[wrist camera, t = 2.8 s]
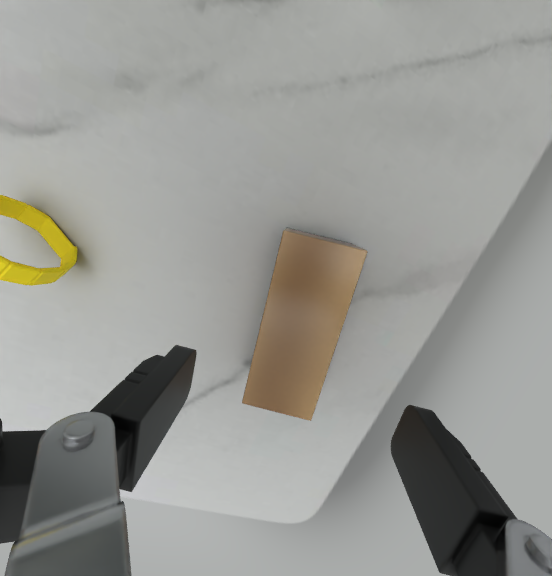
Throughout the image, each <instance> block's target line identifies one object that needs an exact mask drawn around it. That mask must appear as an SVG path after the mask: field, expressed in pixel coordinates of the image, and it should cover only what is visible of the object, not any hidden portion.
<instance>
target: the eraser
mask: <svg viewBox="0 0 552 576" xmlns="http://www.w3.org/2000/svg"><path fill="white" fill-rule="evenodd" d="M366 255H367V251H366V250H364V249H362V248H360V247H358V246H356V245H354V244H352V243H348V242H344V241H340V240H336V239H331V238H327V237H323V236H319V235H315V234H311V233H307V232H303V231H299V230H295V229H291V228H286V229H285V230H284V231H283V234H282V238H281V243H280V247H279V251H278V255H277V259H276V263H275V267H274V272H273V276H272V280H271V284H270V288H269V292H268V297H267V301H266V305H265V309H264V313H263V317H262V321H261V326H260V330H259V334H258V338H257V342H256V346H255V351H254V355H253V359H252V363H251V367H250V371H249V375H248V380H247V384H246V388H245V392H244V396H243V400H242V403H243V404H247V405H251V406H255V407H259V408H263V409H267V410H271V411H275V412H278V413H282V414H286V415H290V416H294V417H298V418H302V419H306V420H310V421H311V419H312V416H313V413H314V410H315V407H316V404H317V401H318V398H319V395H320V392H321V389H322V386H323V383H324V380H325V377H326V374H327V371H328V368H329V365H330V362H331V359H332V356H333V353H334V350H335V347H336V344H337V341H338V338H339V335H340V332H341V330H342V327H343V324H344V321H345V318H346V315H347V312H348V309H349V306H350V303H351V300H352V297H353V294H354V291H355V288H356V285H357V282H358V279H359V276H360V273H361V270H362V267H363V264H364V261H365V258H366Z"/></svg>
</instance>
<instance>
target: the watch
mask: <svg viewBox="0 0 552 576" xmlns="http://www.w3.org/2000/svg"><path fill="white" fill-rule="evenodd" d="M0 215H3V216H7V217H10V218H14V219H17V220H18V221H20V222H22V223H24V224H26V225H28V226H30V227H32V228H34V229H35V230H37V231H38V232H39V233H40V234H41V235H42V237H43V238H44V239H45V240H46V241H47V243H48V244H49V245H50V246H51V247H52V249H53V250H54V251H55V252H56V253H57V254H58V256H59V257H60V258H61V265H60V267H55V268H35V267H31V266H27V265H23V264H19V263H16V262H11V261H10V260H8V259H6V258H4V257H2V256H0V280H3V281H8V282H13V283H18V284H23V285H39V284H48V283H52V282H55V281H56V280H58V279H59V278H60V277H62V276H63V275H64V274H65V273H66V272H67V271H68V270H69V269H70V268H72V267H73V266H74V265H75V264H76V262H77V247H76V246H75V247H74V246H73V244H72V243H71V242H70V241H69V240H68V238H67V237H66V236H65V235H64V234H63V232H62V231H61V230H60V229H59V228H58V226H57V225H56V224H55V223H54V222H53V220H52V219H51V218H50V216H48V215H46V214H44V213H43V212H41V211H39V210H37V209H36V208H34V207H32V206H31V205H27V204H26V203H24V202H21V201H18V200H15V199H12V198H9V197H6V196H3V195H0Z"/></svg>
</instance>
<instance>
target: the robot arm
mask: <svg viewBox="0 0 552 576" xmlns="http://www.w3.org/2000/svg"><path fill="white" fill-rule="evenodd" d="M195 360H196V350H194V349H190V348H186V347H182V346H178V345H176V346H174V347H173V348H172V349H171V350H170V352H169V353H168V354H167V355H166V356H165V357H164V356H160V355H155V356H153V357H151V358H149V359H147V360H144V361H143V362H142V363H141V364H140V365H139V366H137V367H136V368H135V369H134V371H133V372H131V373H130V374H129V375H128V376H127V377H126V378H125V380H123V381H122V382H121V383H119V384H118V385H117V386H116V387H115V388H114V389H113V390H112V391H111V392H110V393H109V394H108V395H107V396H106V397H105V398H104V399H103V400H101V401H100V402H99V403H98V404H97V405H96V406H95V407H94V408H93V409H92V410H91V411H90V412H82V413H77V414H74V415H71V416H68V417H66V418H63V419H61V420H60V421H58V422H56V423H55V424H53V425H52V426H51V427H50V428H48V429H47V430H41V431H8V432H2V421H1V419H0V543H7V542H14V541H15V542H14V544H13V546H12V548H11V552H10V555H9V559H8V563H7V567H6V572H5V576H131V566H130V555H129V543H128V532H127V522H126V512H125V505H124V502H123V501H122V502H121V501H120V491H119V489H122V490H126V491H130V492H132V490H133V489H134V487H135V485H136V484H137V482H138V480H139V479H140V477H141V475H142V474H143V472H144V470H145V469H146V467H147V465H148V464H149V462H150V460H151V459H152V457H153V455H154V454H155V452H156V450H157V449H158V447H159V445H160V443H161V442H162V440H163V438H164V437H165V435H166V433H167V432H168V430H169V428H170V427H171V425H172V423H173V422H174V420H175V418H176V417H177V415H178V413H179V412H180V410H181V408H182V407H183V405H184V403H185V401H186V399H187V397H188V394H189V391H190V388H191V383H192V377H193V371H194V366H195ZM391 453H392V457H393V459H394V462H395V464H396V467H397V469H398V472H399V474H400V476H401V479H402V482H403V484H404V487H405V489H406V491H407V494H408V496H409V499H410V501H411V504H412V506H413V509H414V511H415V513H416V516H417V519H418V521H419V523H420V526H421V528H422V531H423V533H424V536H425V538H426V541H427V543H428V546H429V548H430V550H431V553H432V555H433V558H434V560H435V563H436V565H437V568H438V570H439V572H440V573H442V574H446V575H450V576H552V539H551V538H550V537H549V536H547V535H546V534H545V533H543V532H542V531H541V530H539V529H537V528H536V527H534V526H532V525H531V524H528V523H526V522H524V521H522V520H518V519H517V518H516V517H515V515H514V514H513V513H512V511H511V510H510V508H509V507H508V506H507V504H506V503H505V502H504V500H503V499H502V498H501V496H500V495H499V494H498V492H497V491H496V489H495V488H494V487H493V485H492V484H491V483H490V481H489V480H488V479H487V477H486V476H485V475H484V473H483V472H481V471H480V468H479V466H478V465H477V464H476V462H475V461H474V460H472V459H471V456H470V454H469V453H468V452H467V450H466V449H465V447H464V446H463V445H462V443H461V442H460V441H459V440H458V439H457V438H455V437H454V436H453V435H452V434H451V433H450V432H449V431H448V430H447V429H446V428H445V427H444V426H443V425H442V423H441V421H440V420H439V419H438V418H437V416H436V414H435V413H434V412H433V411H431V410H428V409H424V408H420V407H416V406H412V405H409V406H407V407H406V409H405V410H404V412H403V415H402V417H401V419H400V421H399V423H398V426H397V428H396V430H395V432H394V435H393V437H392V440H391Z"/></svg>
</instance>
